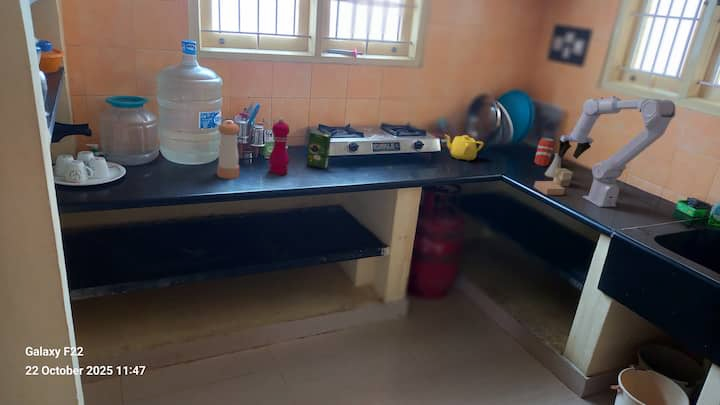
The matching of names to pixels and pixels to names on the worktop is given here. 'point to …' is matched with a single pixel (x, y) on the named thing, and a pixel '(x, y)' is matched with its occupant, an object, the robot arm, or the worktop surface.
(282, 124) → the pepper mill
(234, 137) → the salt shaker
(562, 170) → the block
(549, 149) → the beverage can
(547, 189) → the base
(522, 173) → the worktop surface
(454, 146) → the teapot
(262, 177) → the worktop surface
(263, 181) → the worktop surface
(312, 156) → the coffee box
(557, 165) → the flask
